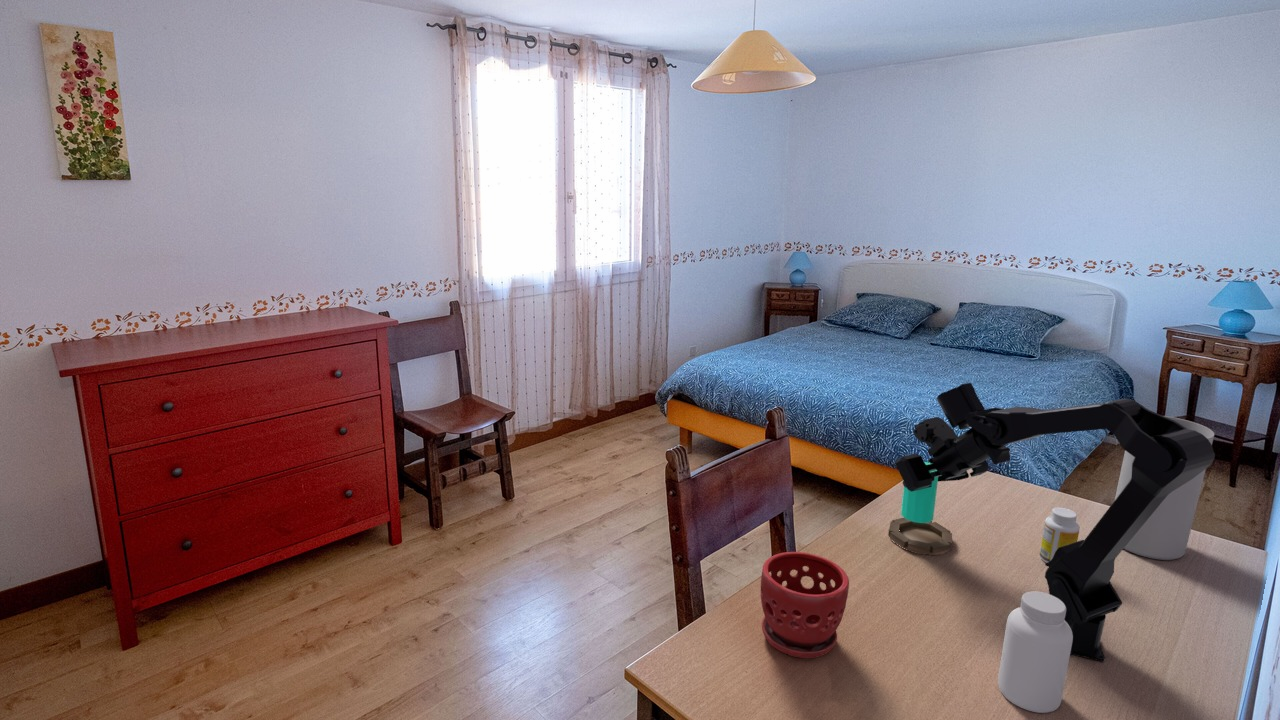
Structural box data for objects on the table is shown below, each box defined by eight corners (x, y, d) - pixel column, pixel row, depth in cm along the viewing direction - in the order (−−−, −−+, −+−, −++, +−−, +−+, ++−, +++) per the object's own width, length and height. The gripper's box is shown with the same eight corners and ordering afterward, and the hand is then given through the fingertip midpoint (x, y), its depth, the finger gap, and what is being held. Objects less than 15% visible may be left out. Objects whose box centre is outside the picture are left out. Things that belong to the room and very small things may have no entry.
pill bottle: (1003, 666, 104) (1018, 578, 100) (1064, 691, 99) (1083, 600, 95) (989, 696, 98) (1005, 604, 94) (1054, 724, 93) (1074, 628, 89)
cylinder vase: (1188, 568, 129) (1219, 444, 122) (1108, 549, 135) (1133, 430, 128) (1180, 539, 139) (1208, 422, 132) (1106, 522, 146) (1129, 410, 139)
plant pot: (840, 675, 102) (847, 604, 99) (751, 655, 106) (755, 586, 103) (845, 621, 114) (851, 557, 110) (764, 605, 118) (768, 542, 115)
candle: (897, 517, 136) (903, 460, 133) (904, 505, 140) (911, 450, 137) (929, 526, 132) (936, 468, 129) (936, 513, 137) (943, 457, 134)
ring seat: (951, 560, 131) (953, 553, 131) (885, 546, 136) (886, 539, 136) (952, 531, 142) (953, 524, 142) (890, 519, 147) (891, 512, 146)
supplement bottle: (1077, 562, 131) (1087, 513, 128) (1065, 572, 128) (1075, 522, 125) (1045, 549, 135) (1054, 502, 132) (1033, 559, 132) (1042, 511, 129)
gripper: (983, 402, 131) (931, 437, 143) (908, 416, 123) (860, 452, 136) (1014, 456, 126) (957, 488, 138) (938, 474, 118) (885, 506, 131)
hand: (915, 482), depth 136 cm, fingers closed on candle, 5 cm apart
